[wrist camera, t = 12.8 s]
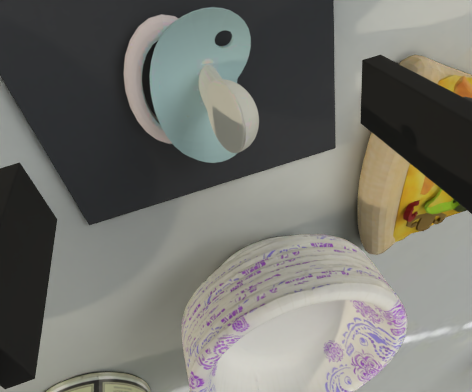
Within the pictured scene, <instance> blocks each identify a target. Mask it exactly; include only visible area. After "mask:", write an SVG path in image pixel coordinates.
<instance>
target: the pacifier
mask: <svg viewBox="0 0 472 392" xmlns="http://www.w3.org/2000/svg"><path fill="white" fill-rule="evenodd" d="M224 30H227V31H230V32H231V34H232V39H231V41H230V43H228V44H227V45H225V46H218V45H216V44H215V37H216V35H217V34H218V33H219V32H221V31H224ZM157 41H158V42H157ZM155 42H157V44H156V46H155V48H154V52H153V56H152V60H151V67H150V90H151V97H152V102H153V106H154V110H155V113H156V116H157V117H156V116H155V115H154V114H153V112H152V111H151V109H150V108H149V105H148V103H147V101H146V99H145V95H144V92H143V86H142V71H143V64H144V61H145V58H146V55H147V53H148V51H149V50H150V48H151V46H152V45H153V44H154V43H155ZM250 48H251V36H250V32H249V28H248V27H247V25H246V23H245V21H244V20H243V19H242V18H241V17H240V16H239V15H237V14H235V13H234V12H232V11H230V10H227V9H224V8H216V7H210V8H202V9H198V10H195V11H192V12H190V13H188V14H186V15H183V16H182V17H180V18H177V17H175V16H170V15H162V14H161V15H158V16H154V17H151V18H148V19H147V20H146V21H145V22H144V23H142V24H141V25H140V26H139V27H138V28H137V29H136V31H135V33H134V34H133V36H132V37H131V39H130V41H129V45H128V48H127V51H126V54H125V61H124V73H123V74H124V83H125V92H126V95H127V98H128V102H129V105H130V108H131V110H132V112H133V114H134V115H135V117H136V119H137V121H138V122H139V124H140V125H141V126H142V127H143V128H144V130H145V131H146V132H147V133H148V134H150V135H151V136H153V137H154V138H155V139H157V140H159V141H162V142H165V143H167V144H173V145H174V146H175V147H176V148H177V149H178V150H180V151H181V152H182V153H183V154H185V155H187V156H189V157H191V158H194V159H196V160H199V161H203V162H209V163H216V162H223V161H226V160H228V159H230V158H232V157H233V156H235V155H236V154H237V153H238V152H241V151H243V150H245V149H246V148H247V147H249V146H250V145H251V143H252V142H253V141H254V139H255V137H256V135H257V132H258V128H259V115H258V110H257V107H256V104H255V102H254V100H253V98H252V97H251V95H250V94H249V93H248V92H247V91H246V90H245V89H244V88H243V87H242V86H240V85H239V84H237V79H238V77H239V76H240V74H241V73H242V71H243V69H244V67H245V65H246V63H247V60H248V57H249V53H250Z"/></svg>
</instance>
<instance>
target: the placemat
mask: <svg viewBox="0 0 472 392" xmlns="http://www.w3.org/2000/svg"><path fill="white" fill-rule="evenodd" d="M210 7H216V8H224V9H227V10H230V11H232V12H234V13H235V14H237V15H239V16H240V17H241V18H242V19H243V20H244V21H245V23H246V25H247V27H248V28H249V32H250V36H251V48H250V53H249V57H248V60H247V63H246V65H245V67H244V69H243V71H242V73H241V74H240V76H239V77H238V79H237V84H239V85H240V86H242V87H243V88H244V89H245V90H246V91H247V92H248V93H249V94H250V95H251V97H252V98H253V100H254V102H255V104H256V107H257V110H258V115H259V128H258V132H257V135H256V137H255V139H254V141H253V142H252V143H251V145H250V146H249V147H247V148H246V149H245V150H243V151H241V152H238V153H237V154H236V155H235V156H233V157H232V158H230V159H228V160H226V161H223V162H216V163H209V162H203V161H199V160H196V159H194V158H191V157H189V156H187V155H185V154H183V153H182V152H181V151H180V150H178V149H177V148H176V147H175V146H174V145H173V144H167V143H165V142H162V141H159V140H157V139H155V138H154V137H153V136H151V135H150V134H148V133H147V132H146V131H145V130H144V128H143V127H142V126H141V125H140V124H139V122H138V121H137V119H136V117H135V115H134V114H133V112H132V110H131V108H130V105H129V102H128V98H127V95H126V92H125V83H124V74H123V73H124V61H125V54H126V51H127V48H128V45H129V41H130V39H131V37H132V36H133V34H134V33H135V31H136V29H137V28H138V27H139V26H140V25H141V24H142V23H144V22H145V21H146V20H147V19H148V18H151V17H154V16H158V15H161V14H162V15H170V16H175V17H177V18H180V17H182V16H183V15H186V14H188V13H190V12H192V11H195V10H198V9H202V8H210ZM231 39H232V34H231V32H230V31H227V30H224V31H221V32H219V33H218V34H217V35H216V37H215V44H216V45H218V46H225V45H227V44H228V43H230V41H231ZM157 42H158V41H157ZM157 42H155V43H154V44H153V45H152V46H151V48H150V50H149V51H148V53H147V55H146V58H145V61H144V64H143V71H142V86H143V92H144V95H145V99H146V101H147V103H148V105H149V108H150V109H151V111H152V112H153V114H154V115H155V116H156V113H155V110H154V106H153V102H152V97H151V90H150V67H151V60H152V56H153V52H154V48H155V46H156V44H157ZM0 76H1V78H2V79H3V81H4V83H5V84H6V86H7V88H8V89H9V91H10V93H11V94H12V96H13V98H14V99H15V101H16V103H17V104H18V106H19V108H20V109H21V111H22V113H23V114H24V116H25V118H26V120H27V121H28V123H29V125H30V126H31V128H32V130H33V131H34V133H35V135H36V136H37V138H38V140H39V141H40V143H41V145H42V146H43V148H44V150H45V151H46V153H47V155H48V156H49V158H50V160H51V161H52V163H53V165H54V167H55V168H56V170H57V172H58V173H59V175H60V177H61V178H62V180H63V182H64V183H65V185H66V187H67V188H68V190H69V192H70V193H71V195H72V197H73V198H74V200H75V202H76V203H77V205H78V207H79V208H80V210H81V212H82V214H83V215H84V217H85V219H86V220H87V222H88V224H89V225H92V224H95V223H98V222H101V221H104V220H107V219H111V218H114V217H117V216H120V215H123V214H127V213H130V212H133V211H136V210H139V209H142V208H146V207H149V206H152V205H155V204H158V203H162V202H165V201H168V200H171V199H174V198H178V197H181V196H184V195H187V194H190V193H193V192H197V191H200V190H203V189H206V188H209V187H213V186H216V185H219V184H222V183H225V182H229V181H232V180H235V179H238V178H241V177H244V176H248V175H251V174H254V173H257V172H260V171H264V170H267V169H270V168H273V167H276V166H280V165H283V164H286V163H289V162H292V161H295V160H299V159H302V158H305V157H308V156H311V155H315V154H318V153H321V152H324V151H327V150H331V149H334V148H335V90H334V14H333V0H0ZM156 117H157V116H156Z"/></svg>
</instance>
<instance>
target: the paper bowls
mask: <svg viewBox="0 0 472 392" xmlns="http://www.w3.org/2000/svg"><path fill="white" fill-rule="evenodd" d="M181 330H182V332H181V333H182V343H183V344H182V345H183V351H184V358H185V365H186V370H187V375H188V382H189V389H190V392H354V391H356V390H357V389H359V388H360V387H361V386H363V385H364V384H366V383H367V382H368V381H370V380H371V379H372V378H373V377H375V376H376V375H377V374H378V373H379V372H380V371H381V370H382V369H383V368H384V367H385V366H386V365H387V364H388V363H389V362H390V361H391V359H392V358H393V357H394V355H395V354H396V353H397V351H398V350H399V348H400V346H401V345H402V343H403V340H404V338H405V335H406V332H407V314H406V311H405V308H404V306H403V304H402V302H401V301H400V299H399V298H398V296H397V294H396V293H395V292H394V290H393V289H391V287H390V286H389V284H388V283H387V282H386V281H385V279H384V277H383V276H382V274H381V273H380V272H379V271H378V269H377V268H376V266H375V265H374V264H373V263H372V261H371V260H370V259H369V257H368V256H367V255H366V254H365V253H364V252H363V251H362V250H361V249H360V248H359V247H357V246H356V245H354V244H352V243H351V242H349V241H347V240H345V239H342V238H340V237H336V236H330V235H325V234H300V235H290V236H280V237H273V238H269V239H265V240H261V241H259V242H256V243H253V244H251V245H249V246H247V247H245V248H243V249H241V250H239V251H238V252H236V253H235V254H234V255H232V256H231V257H230V258H228V259H227V260H226V261H225V262H224V263H223V264H222V265H221V266H220V267H219V268H218V269H217V270H215V271H214V273H213V274H212V275H210V276H209V277H208V278H207V280H206V282H203V283H202V284H201V285H200V286H199V288H198V289H197V290H196V292H195V293H194V294H193V296H192V297H191V299H190V301H189V302H188V304H187V306H186V308H185V312H184V315H183V318H182V326H181Z"/></svg>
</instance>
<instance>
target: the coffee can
mask: <svg viewBox="0 0 472 392" xmlns="http://www.w3.org/2000/svg"><path fill="white" fill-rule="evenodd" d="M46 392H151V391H150V388H149V386H148V384H147V383H146V382H145V381H144V380H142V379H140V378H138V377H136V376H133V375H130V374H126V373H117V372H102V373H91V374H86V375H81V376H78V377H75V378H72V379H69V380H66V381H64V382H61V383H59V384H57V385H55V386H53V387H52V388H50V389H48V390H47V391H46Z"/></svg>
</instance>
